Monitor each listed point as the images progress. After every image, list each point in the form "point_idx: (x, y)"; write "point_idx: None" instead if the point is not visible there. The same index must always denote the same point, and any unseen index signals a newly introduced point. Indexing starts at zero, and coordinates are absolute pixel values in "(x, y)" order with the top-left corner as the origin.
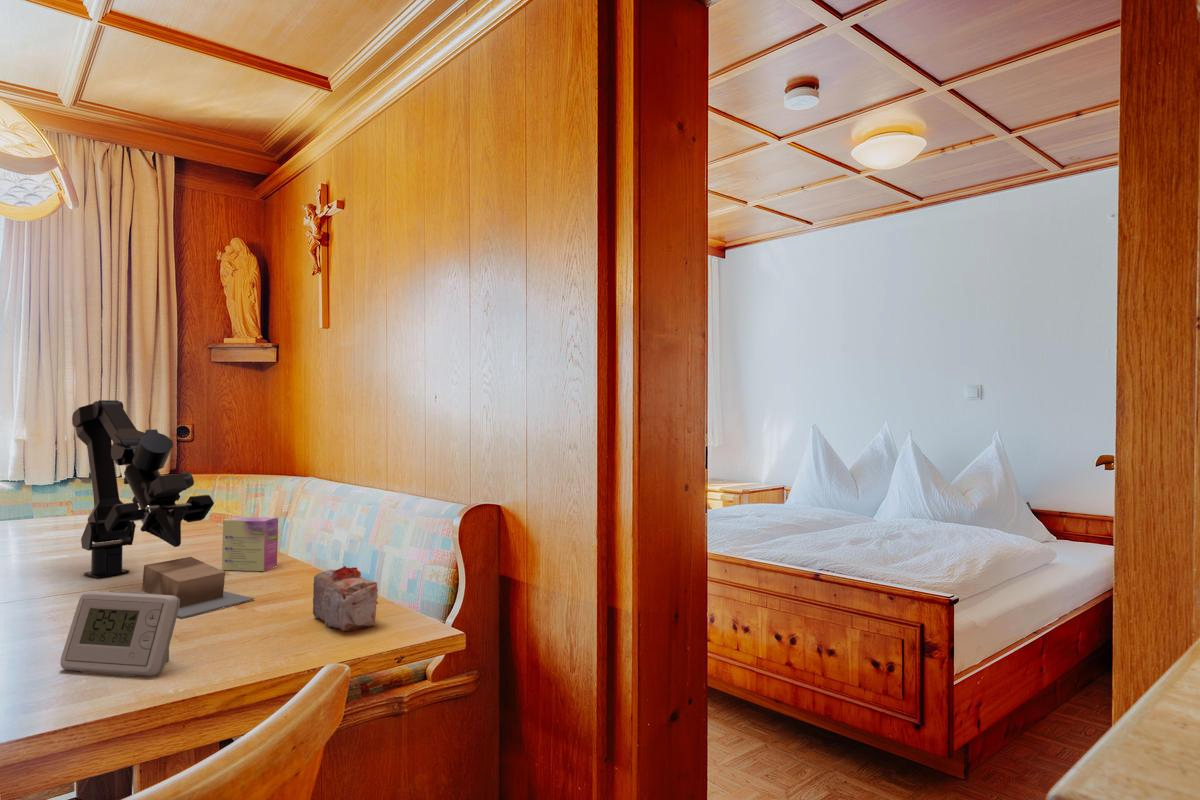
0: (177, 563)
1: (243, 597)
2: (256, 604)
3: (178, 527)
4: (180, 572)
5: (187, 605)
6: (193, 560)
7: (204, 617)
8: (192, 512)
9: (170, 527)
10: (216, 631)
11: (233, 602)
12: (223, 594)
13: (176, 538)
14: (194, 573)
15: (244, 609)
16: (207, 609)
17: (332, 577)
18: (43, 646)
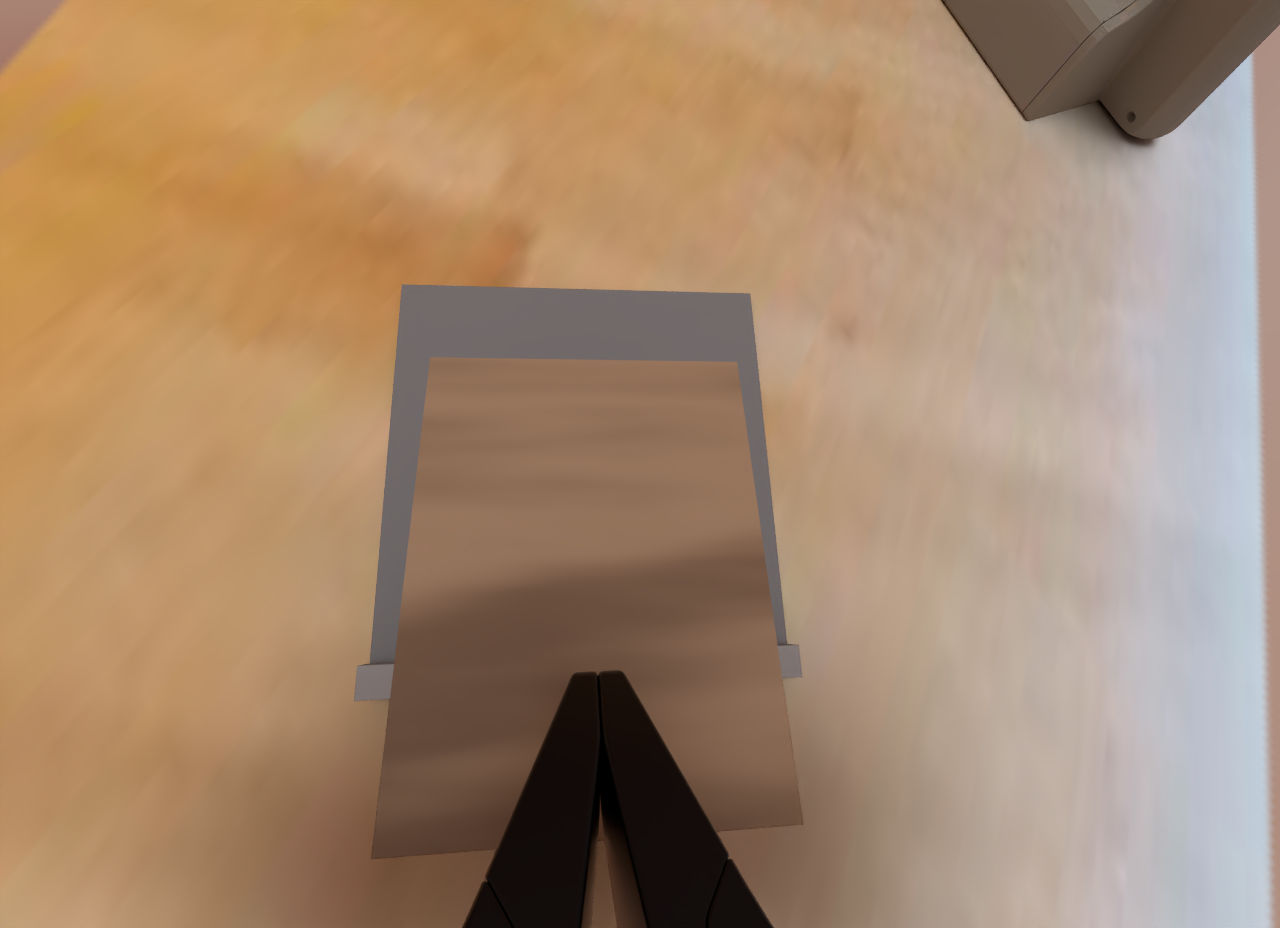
0: None
1: (419, 338)
2: (447, 232)
3: (523, 885)
4: (654, 502)
5: None
6: (425, 725)
7: (682, 248)
8: None
9: (667, 897)
10: (742, 84)
11: (503, 302)
12: None
13: (613, 715)
14: (593, 436)
15: (526, 212)
16: (634, 301)
17: None
18: (1173, 395)
